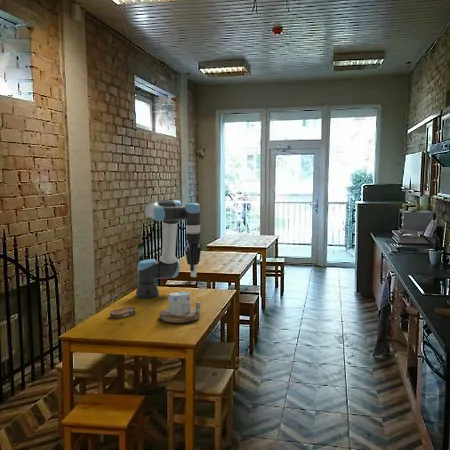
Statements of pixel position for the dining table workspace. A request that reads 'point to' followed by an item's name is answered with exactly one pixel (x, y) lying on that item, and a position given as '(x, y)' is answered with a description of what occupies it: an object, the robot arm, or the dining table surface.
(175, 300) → the light bulb box
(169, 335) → the dining table surface
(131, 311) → the tin
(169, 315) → the brown wide round piece
